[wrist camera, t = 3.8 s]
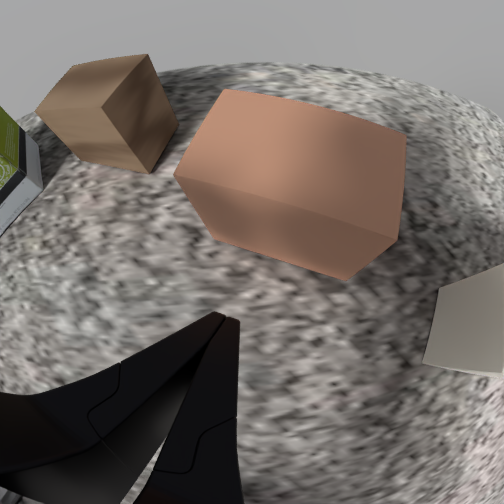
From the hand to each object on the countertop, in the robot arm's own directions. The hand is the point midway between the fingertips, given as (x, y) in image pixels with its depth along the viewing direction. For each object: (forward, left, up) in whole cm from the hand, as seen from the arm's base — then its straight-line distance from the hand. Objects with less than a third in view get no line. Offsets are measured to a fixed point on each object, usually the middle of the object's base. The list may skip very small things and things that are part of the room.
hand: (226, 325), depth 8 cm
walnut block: (+22, +2, -11) cm, 24 cm away
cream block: (-12, -14, -11) cm, 21 cm away
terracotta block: (+5, -6, -11) cm, 14 cm away
